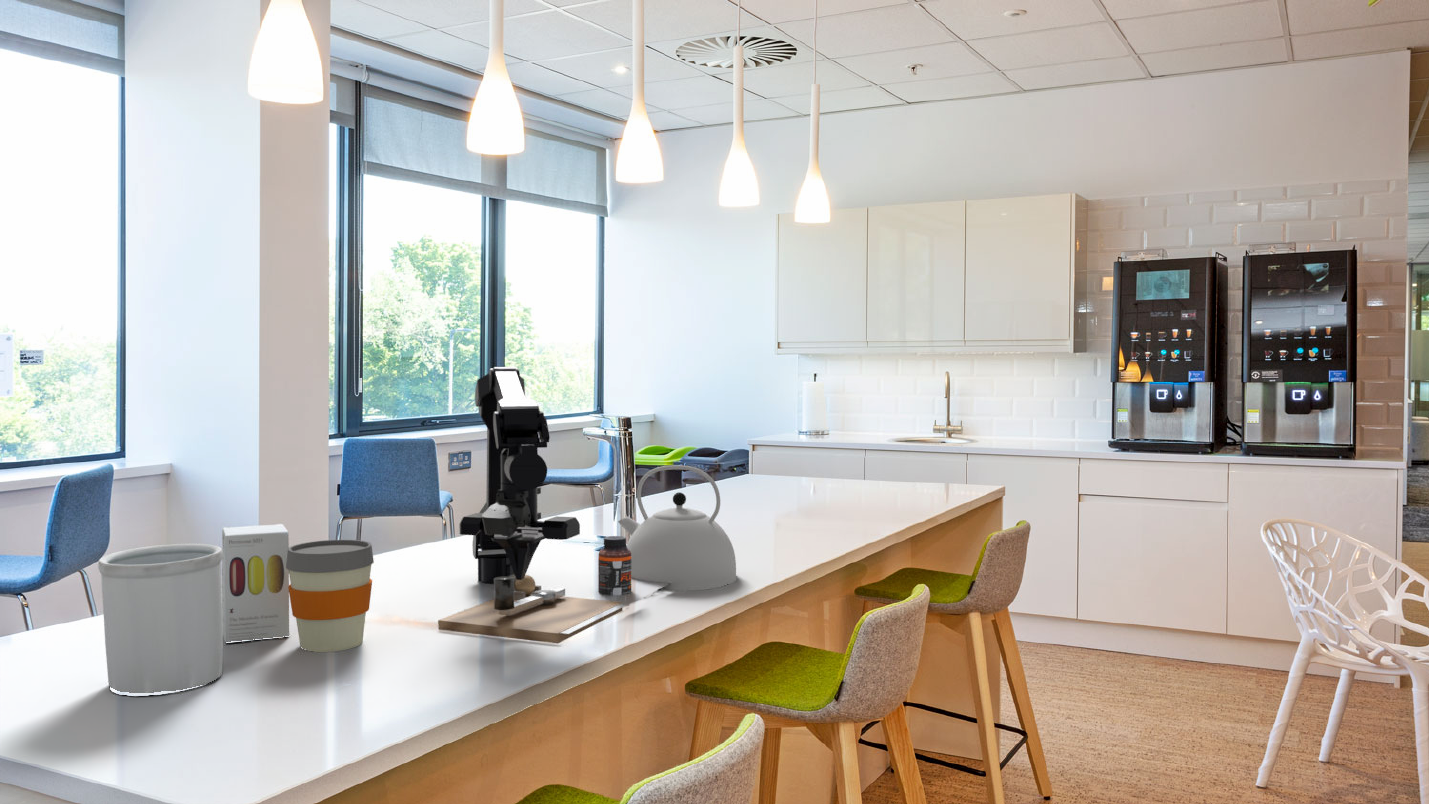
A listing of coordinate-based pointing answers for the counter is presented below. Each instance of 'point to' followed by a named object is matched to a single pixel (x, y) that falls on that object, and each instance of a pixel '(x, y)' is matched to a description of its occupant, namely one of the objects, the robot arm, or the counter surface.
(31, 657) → the counter surface
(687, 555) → the kettle
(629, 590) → the supplement bottle
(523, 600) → the lever
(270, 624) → the supplement box
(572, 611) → the base
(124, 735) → the counter surface
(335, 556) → the reusable coffee cup
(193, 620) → the utensil holder
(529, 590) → the nut
